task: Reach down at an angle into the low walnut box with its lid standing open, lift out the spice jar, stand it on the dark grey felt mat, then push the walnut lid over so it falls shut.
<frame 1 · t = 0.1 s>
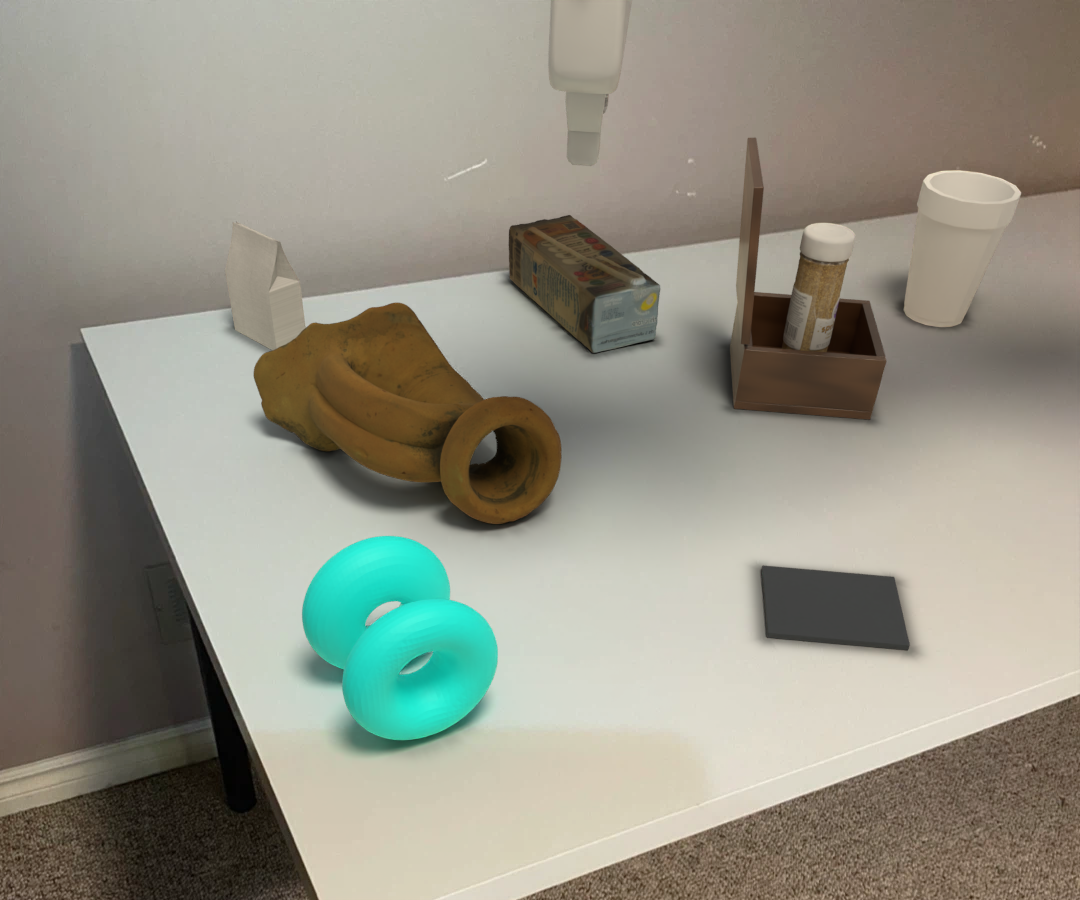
hand: (588, 135, 64), 29 cm above the table, tool pointing down, fingers open, 8 cm apart
donuts: (403, 697, 71), on the table
felt mat: (831, 608, 79), on the table
beverage carton: (578, 312, 113), on the table
white gable top carton: (271, 337, 107), on the table
brown looped sculpture: (404, 471, 90), on the table
spice jar: (798, 376, 103), point 1 cm above the table, touching walnut box
walnut box: (796, 381, 104), on the table
box lid: (748, 241, 95), point 13 cm above the table, hinge at 95.0°
foam cup: (932, 315, 116), on the table
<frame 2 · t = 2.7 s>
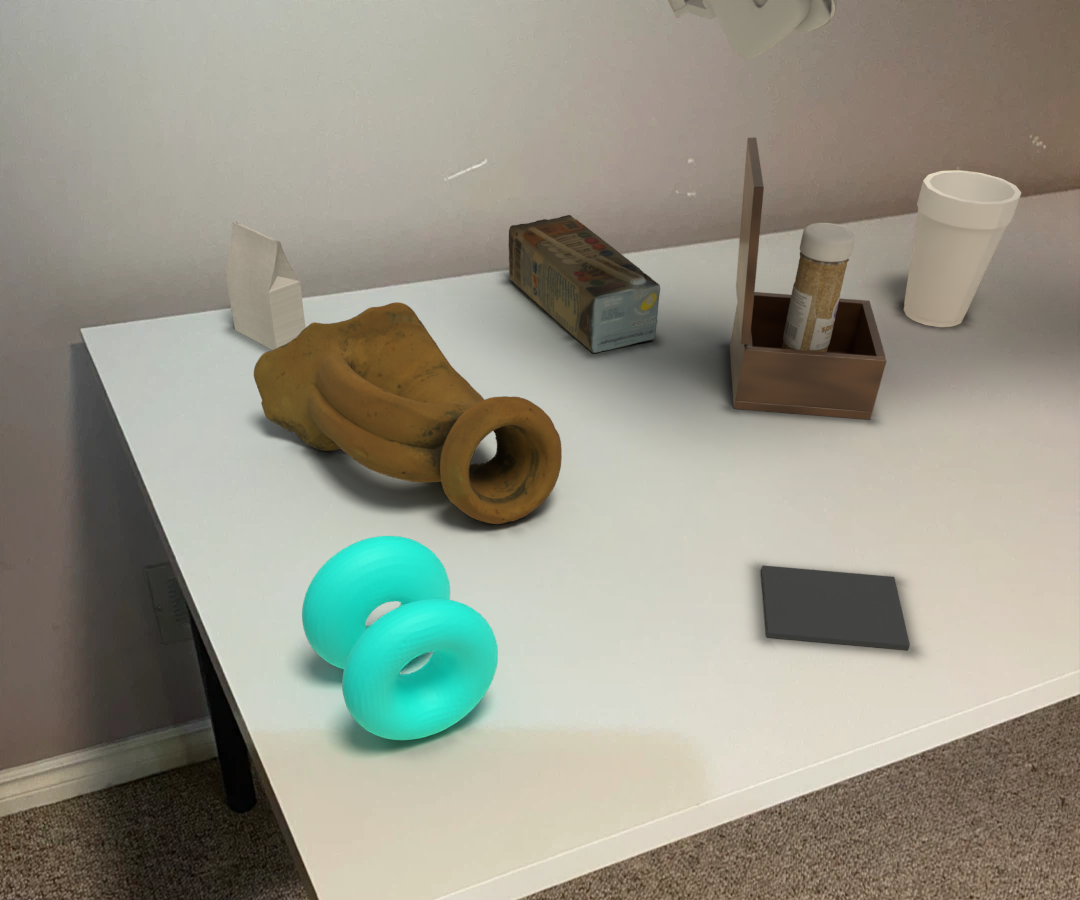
nothing on the table moved.
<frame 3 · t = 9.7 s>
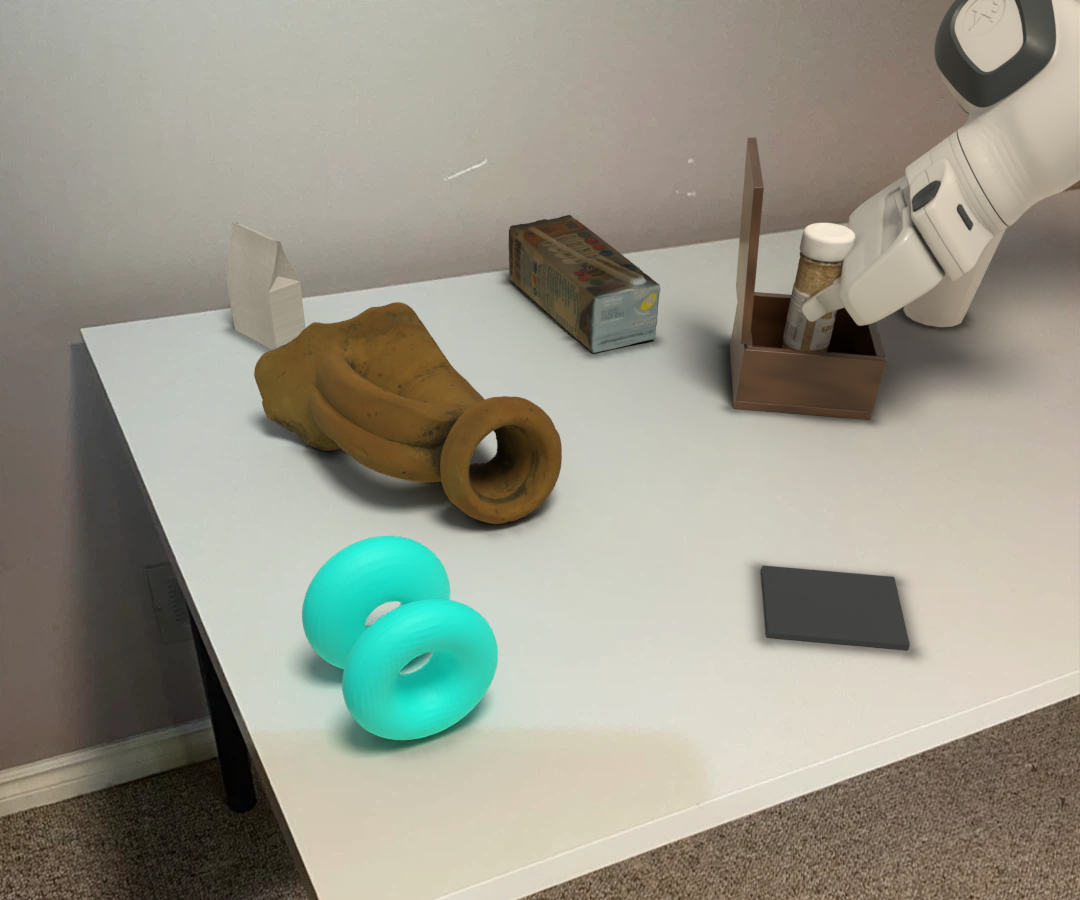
hand: (807, 300, 98), 8 cm above the table, tool tilted 45°, fingers closed on spice jar, 4 cm apart
spice jar: (798, 376, 103), point 1 cm above the table, touching gripper, walnut box
everything else where it was.
when the fingers open (8 cm above the table, at t = 20.9 s): spice jar stays where it is, resting on felt mat.
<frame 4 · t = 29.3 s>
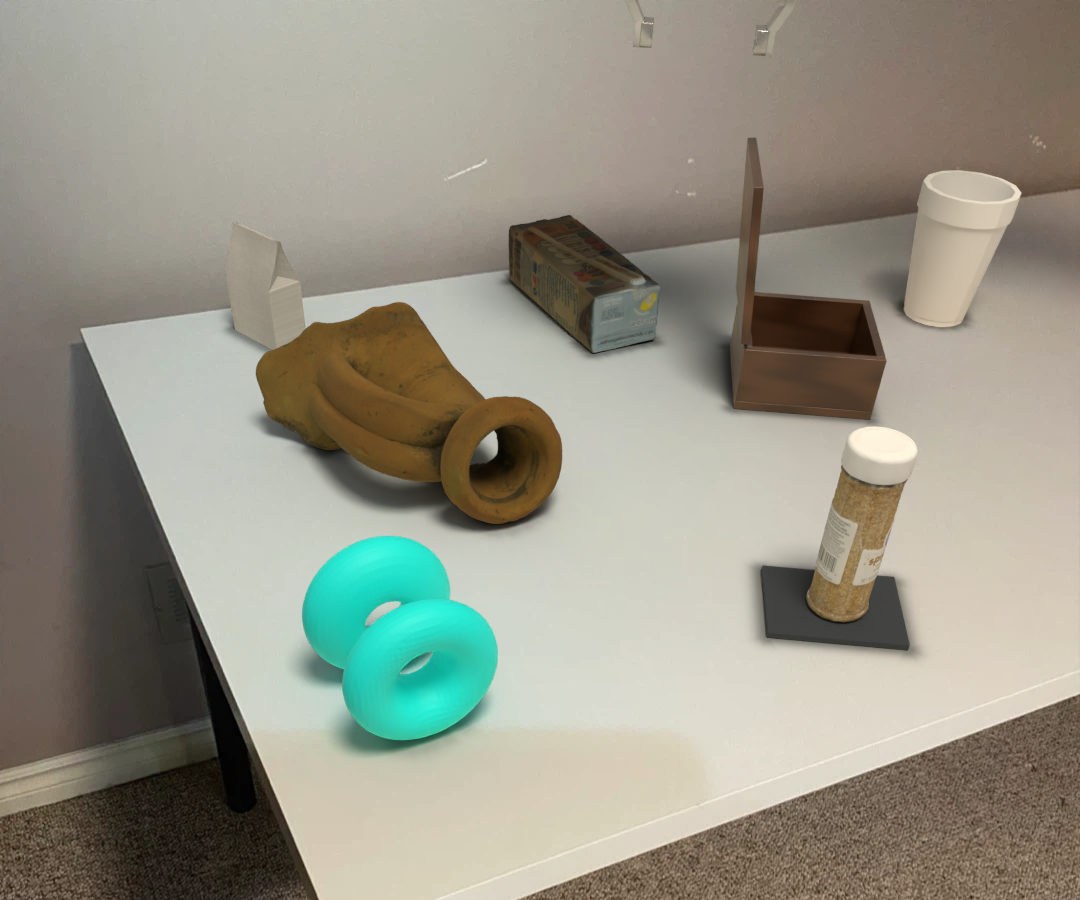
hand: (701, 50, 85), 27 cm above the table, tool pointing down, fingers open, 8 cm apart
spice jar: (834, 607, 79), resting on felt mat
everything else where it was.
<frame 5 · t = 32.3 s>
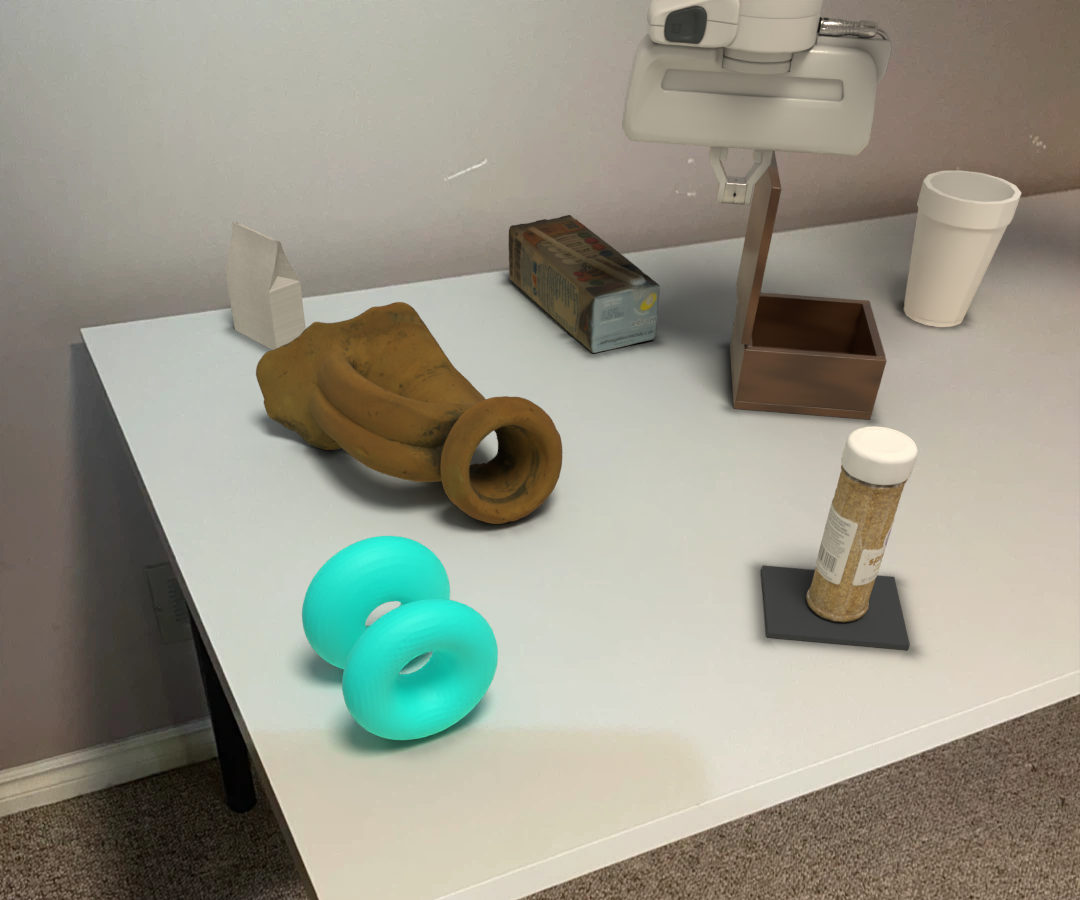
hand: (732, 202, 92), 16 cm above the table, tool pointing down, fingers closed
box lid: (756, 241, 95), point 13 cm above the table, hinge at 88.8°, touching gripper
everything else where it was.
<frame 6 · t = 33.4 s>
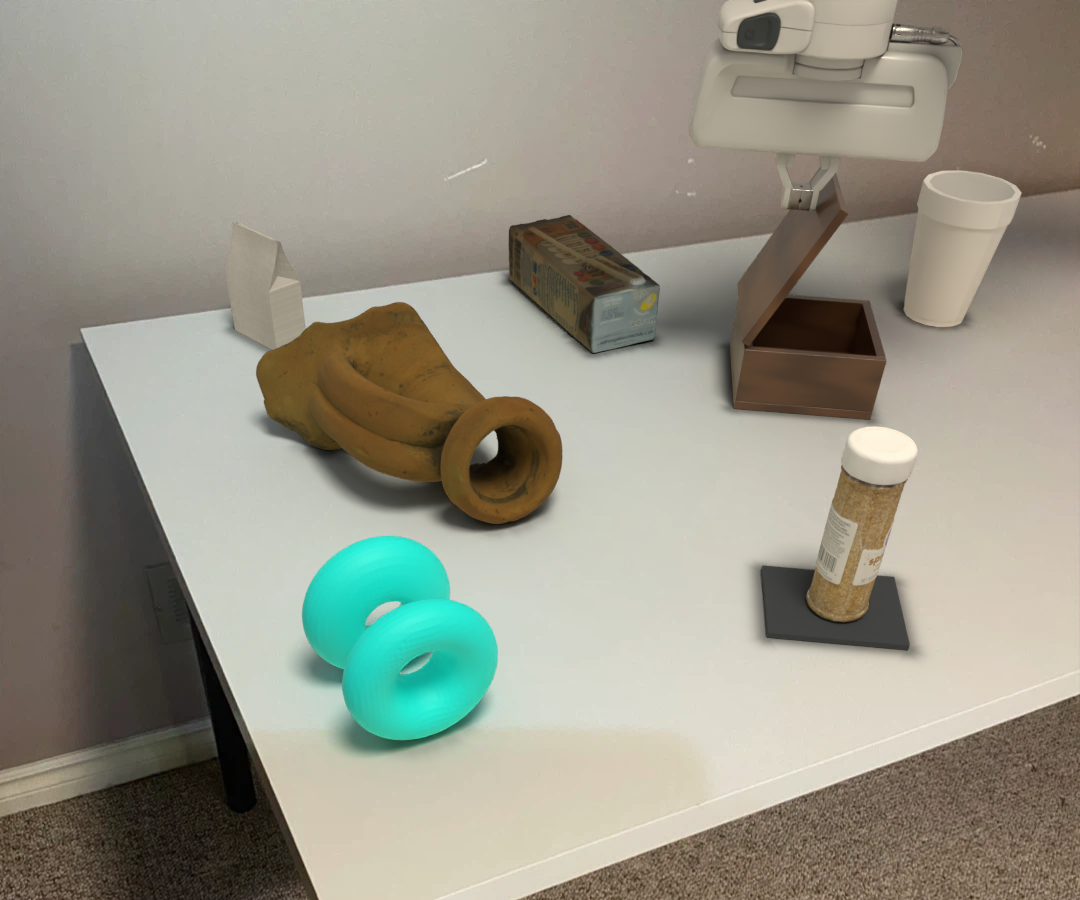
hand: (797, 208, 92), 16 cm above the table, tool pointing down, fingers closed
box lid: (787, 252, 95), point 12 cm above the table, hinge at 62.8°
everything else where it was.
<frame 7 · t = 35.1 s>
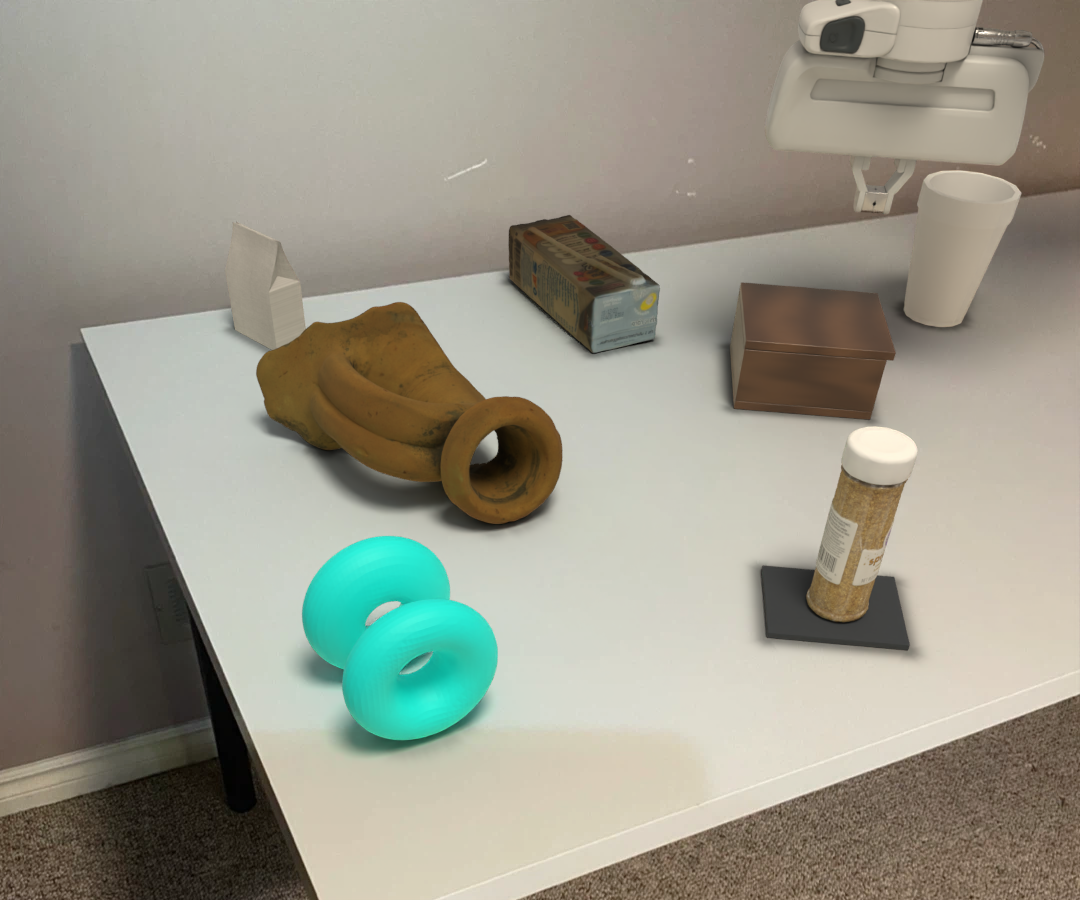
hand: (870, 211, 92), 16 cm above the table, tool pointing down, fingers closed
box lid: (813, 319, 99), point 6 cm above the table, hinge at -0.2°
everything else where it was.
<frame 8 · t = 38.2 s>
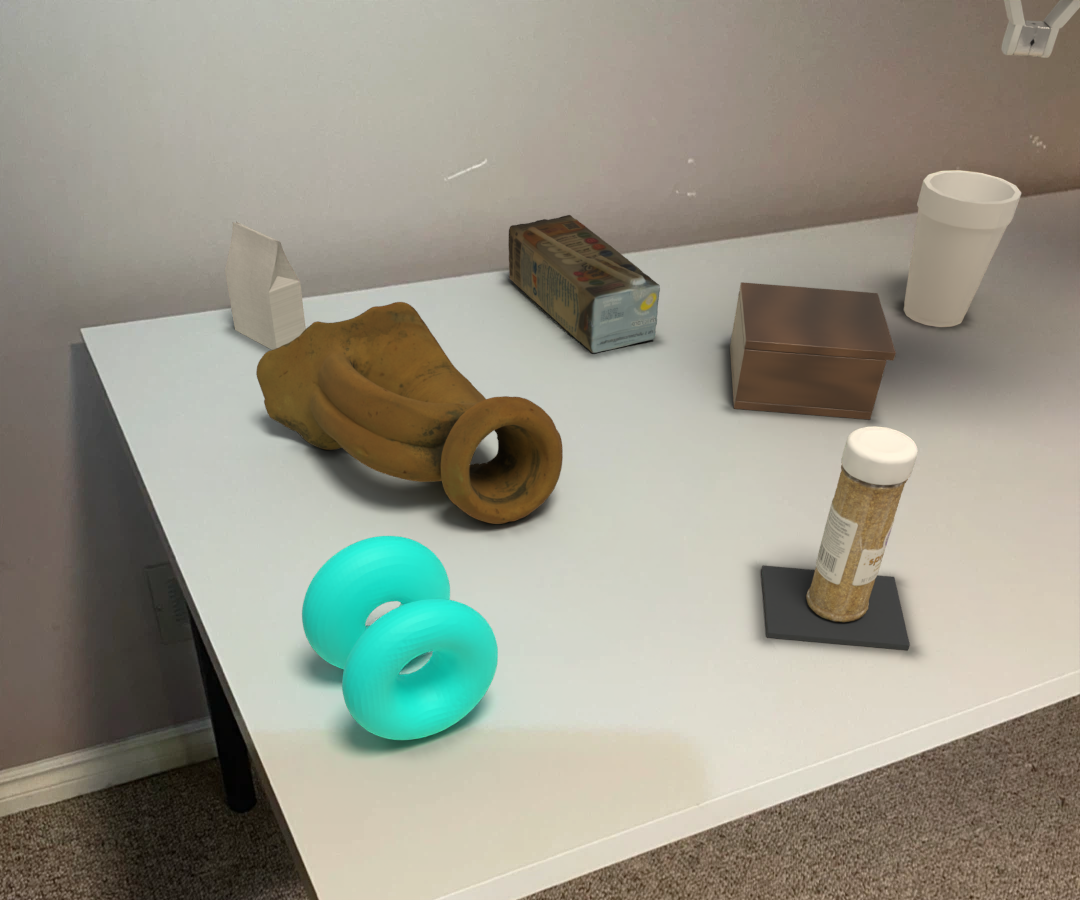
hand: (1024, 54, 72), 31 cm above the table, tool pointing down, fingers closed
nothing on the table moved.
at the end: spice jar inside the target area on the felt mat (0.1 cm from its centre), point 0.3 cm above the felt mat's base; spice jar tilted 0°; box lid at +0° (first picture: +95°) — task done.
